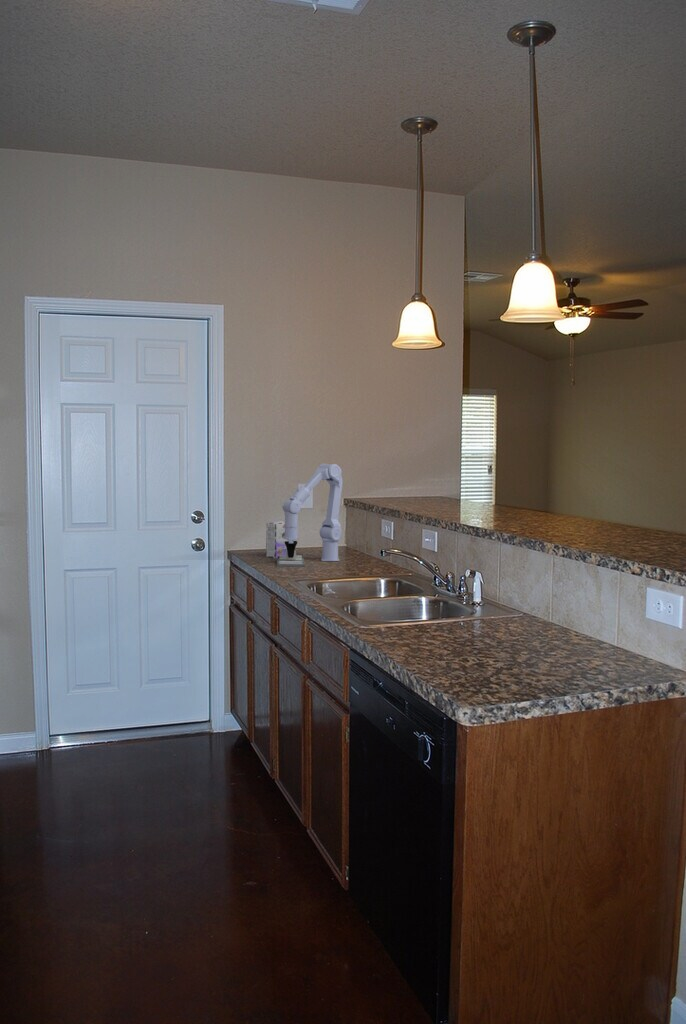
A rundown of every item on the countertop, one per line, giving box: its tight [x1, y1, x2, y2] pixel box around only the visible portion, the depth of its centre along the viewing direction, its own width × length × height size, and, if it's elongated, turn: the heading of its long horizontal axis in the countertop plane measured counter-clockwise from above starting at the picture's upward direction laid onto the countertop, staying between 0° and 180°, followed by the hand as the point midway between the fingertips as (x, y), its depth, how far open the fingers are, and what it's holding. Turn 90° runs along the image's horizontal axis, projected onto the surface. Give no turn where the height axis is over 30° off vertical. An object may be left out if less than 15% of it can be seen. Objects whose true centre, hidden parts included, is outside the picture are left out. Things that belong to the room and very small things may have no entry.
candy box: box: [265, 519, 295, 559], centre depth 373 cm, size 14×6×16 cm, turn 144°
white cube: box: [286, 550, 297, 560], centre depth 356 cm, size 4×4×4 cm
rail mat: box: [276, 554, 306, 567], centre depth 353 cm, size 18×12×2 cm, turn 4°
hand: (290, 557), depth 352 cm, fingers closed
